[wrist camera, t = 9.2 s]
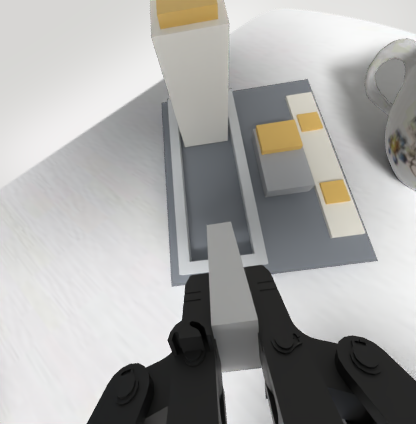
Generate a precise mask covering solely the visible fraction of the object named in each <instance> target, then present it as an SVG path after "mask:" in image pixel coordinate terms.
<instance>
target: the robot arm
mask: <svg viewBox="0 0 416 424" xmlns="http://www.w3.org/2000/svg"><path fill="white" fill-rule="evenodd" d="M207 244H208V265H209V273H203V274H196V275H190V277H189V279H188V280H187V282H186V284H185V295H184V305H183V316H182V321H181V322H179V323H178V324H176V325H175V327H174V328H173V329H172V331H171V332H170V335H169V338H168V342H169V345H170V348H171V350H172V353H171V354H169V355H168V356H167V357H166V358H164V359H162V360H161V361H159V362H157V363H155V364H153V365H151V366H148V367H146V368H145V366H143V365H141V364H139V363H135V364H129V365H127V366H125V367H123V368H122V369H120V370H119V371H118V372H117V373H116V374H115V375H114V376H113V378H112V379H111V380H110V382H109V383H108V385H107V387H106V389H105V391H104V392H103V394H102V396H101V398H100V400H99V402H98V404H97V406H96V407H95V409H94V411H93V413H92V415H91V417H90V419H89V421H88V423H87V424H227V418H226V406H225V394H224V389H223V384H222V372H230V371H239V370H247V369H255V368H261V366H262V370H263V374H264V378H265V392H266V399H268V401H269V406H270V410H271V414H272V419H273V423H274V424H416V381H415V380H414V379H413V378H412V377H411V376H410V375H409V374H408V373H407V372H406V371H405V370H404V369H403V368H402V367H401V366H400V365H399V364H397V363H396V362H395V361H394V360H393V359H392V358H391V357H390V356H389V355H388V354H387V353H386V352H385V351H384V350H383V349H381V348H380V347H379V346H377V345H376V344H375V343H373V342H371V341H369V340H367V339H365V338H363V337H357V336H347V337H344V338H342V339H341V340H340V341H339V342H338V344H337V343H332V342H327V341H322V340H317V339H314V338H311V337H309V336H307V335H305V334H304V333H302V332H301V331H300V330H298V329H297V327H296V326H295V325H294V324H293V322H292V320H291V319H290V316H289V314H288V312H287V309H286V307H285V305H284V303H283V300H282V298H281V296H280V294H279V291H278V290H277V287H276V284H275V282H274V280H273V278H272V275H271V273H270V271H269V270H268V269H267V268H265V267H264V266H263V265H255V266H248V267H243V264H242V260H241V256H240V253H239V249H238V246H237V242H236V238H235V235H234V231H233V228H232V224H231V222H224V223H218V224H211V225H207Z"/></svg>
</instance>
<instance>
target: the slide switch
mask: <svg viewBox="0 0 416 424" xmlns="http://www.w3.org/2000/svg"><path fill="white" fill-rule="evenodd" d="M150 13H151V14H150V15H151V38H152V41H153V44H154V48H155V51H156V54H157V57H158V60H159V64H160V67H161V70H162V74H163V77H164V80H165V83H166V87H167V90H168V93H169V96H170V100H171V103H172V106H173V110H174V113H175V116H176V119H177V123H178V126H179V129H180V132H181V136H182V139H183V142H184V145H185V147H190V146H196V145H203V144H209V143H216V142H223V141H228V80H229V20H228V17H227V12H226V8H225V3H224V0H150Z"/></svg>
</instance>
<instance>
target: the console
mask: <svg viewBox="0 0 416 424" xmlns="http://www.w3.org/2000/svg"><path fill="white" fill-rule="evenodd" d="M162 118H163V136H164V154H165V172H166V190H167V209H168V227H169V245H170V263H171V281H172V286H179V285H185V284H186V282H187V280H188V279H189V277H190V275H196V274H203V273H209V265H208V244H207V225H211V224H218V223H224V222H231V224H232V228H233V231H234V235H235V238H236V242H237V246H238V249H239V253H240V256H241V260H242V264H243V267H248V266H255V265H263V266H264V267H265V268H267V269H268V270H269V271H270V273H271V274H276V273H284V272H292V271H300V270H308V269H316V268H324V267H332V266H340V265H348V264H356V263H364V262H372V261H378V260H377V258H376V255H375V252H374V250H373V247H372V245H371V242H370V239H369V237H368V234H367V232H366V229H365V227H364V224H363V221H362V219H361V216H360V214H359V211H358V208H357V206H356V203H355V201H354V198H353V196H352V193H351V190H350V188H349V185H348V183H347V180H346V177H345V175H344V172H343V170H342V167H341V165H340V162H339V159H338V157H337V154H336V152H335V149H334V146H333V144H332V141H331V139H330V136H329V134H328V131H327V128H326V126H325V123H324V121H323V118H322V115H321V113H320V110H319V108H318V105H317V103H316V100H315V97H314V95H313V92H312V90H311V87H310V84H309V82H308V79H306V80H300V81H294V82H287V83H281V84H275V85H269V86H263V87H257V88H251V89H244V90H238V91H232V88H229V89H228V141H223V142H216V143H209V144H203V145H196V146H190V147H185V145H184V142H183V139H182V136H181V132H180V129H179V126H178V123H177V119H176V116H175V113H174V110H173V106H172V103H171V100H170V98H168V102H165V103H162Z"/></svg>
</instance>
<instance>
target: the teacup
mask: <svg viewBox="0 0 416 424" xmlns="http://www.w3.org/2000/svg"><path fill="white" fill-rule="evenodd" d="M390 59H399V60H402V61H403V62H404V65H405V76H404V84H403V86H402V88H401V89H400V91H399V93H398V95H397V96H396V99H395V101H394V103H393V105H392V104H391V103H389V102H388V100H387V99H386V98H385V97H384V96H383V95H382V94H381V92H380V90H379V89H378V87H377V85H376V80H375V74H376V71H377V69H378V68H379V67H380V66H381V64H383V63H384V62H386V61H388V60H390ZM365 89H366V93H367V96H368V98H369V99H370V100H371V101H372V102H373V103H374V104H375V105H376V106H377V107H379V108H380V109H381V110H382V111H383V112H385V113H386V114H387V115H388V121H387V125H386V132H385V147H386V153H387V156H388V159H389V162H390V164H391V167H392V170H393V171H394V173H395V174H396V176H397V177H398V179H399V180H400V181H401V182H403V183H404V184H405V185H406V186H408V187H409V188H411V189H413V190H415V191H416V41H414V40H411V39H408V38H406V39H399V40H396V41H393V42H392V43H390V44H388V45H387V46H385V47H384V48H383V49H382V50H380V51H379V53H378V54H377V55H376V57H375V58H374V60H373V61H372V63H371V64H370V66H369V68H368V70H367V73H366V77H365Z"/></svg>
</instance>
